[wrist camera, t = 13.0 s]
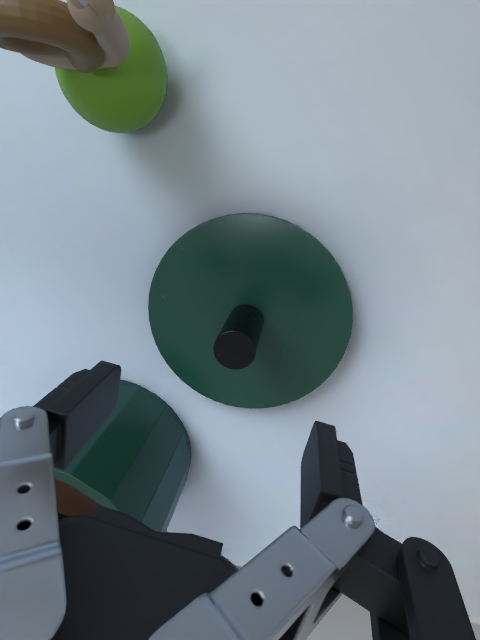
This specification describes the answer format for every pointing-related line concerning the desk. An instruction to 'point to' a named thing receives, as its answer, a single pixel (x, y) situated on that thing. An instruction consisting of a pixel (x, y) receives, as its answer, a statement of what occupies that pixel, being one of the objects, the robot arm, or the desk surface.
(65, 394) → the robot arm
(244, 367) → the lid
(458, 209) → the desk surface
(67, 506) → the block
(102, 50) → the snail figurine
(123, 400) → the canister
